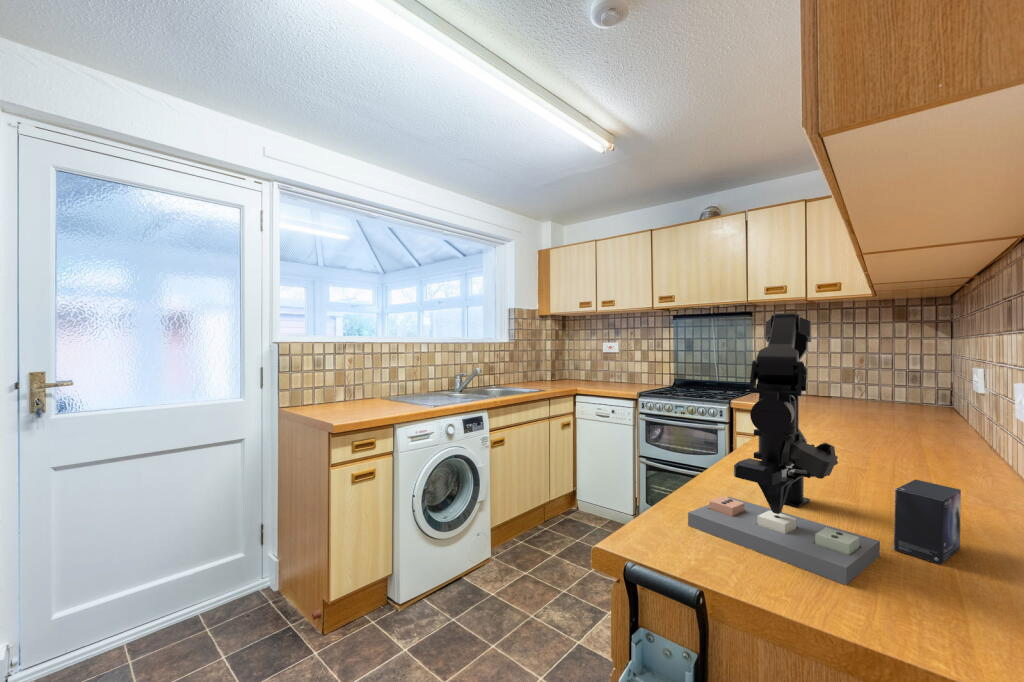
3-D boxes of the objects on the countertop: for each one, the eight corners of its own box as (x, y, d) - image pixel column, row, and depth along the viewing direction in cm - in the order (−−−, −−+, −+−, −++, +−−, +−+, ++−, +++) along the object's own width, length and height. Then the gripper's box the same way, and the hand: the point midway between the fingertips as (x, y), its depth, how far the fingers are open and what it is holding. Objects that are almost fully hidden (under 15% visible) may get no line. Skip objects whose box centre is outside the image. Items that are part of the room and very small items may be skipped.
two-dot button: (826, 542, 73) (826, 526, 73) (859, 552, 70) (859, 536, 70) (815, 549, 71) (815, 533, 71) (848, 560, 67) (848, 543, 67)
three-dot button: (721, 508, 88) (721, 495, 88) (744, 515, 84) (744, 502, 84) (709, 513, 85) (709, 500, 85) (732, 521, 82) (732, 507, 82)
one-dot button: (769, 523, 81) (769, 509, 81) (796, 532, 77) (796, 517, 77) (757, 529, 78) (757, 515, 78) (784, 539, 74) (784, 523, 74)
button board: (729, 508, 92) (729, 496, 92) (879, 556, 72) (879, 540, 72) (688, 525, 83) (688, 512, 83) (846, 585, 63) (846, 567, 63)
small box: (945, 567, 68) (945, 500, 68) (892, 550, 74) (892, 488, 74) (963, 550, 74) (963, 488, 74) (912, 535, 79) (912, 478, 80)
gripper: (806, 440, 66) (805, 544, 65) (851, 426, 76) (850, 516, 76) (732, 428, 75) (732, 519, 75) (782, 417, 85) (781, 497, 85)
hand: (776, 513), depth 77 cm, fingers closed
